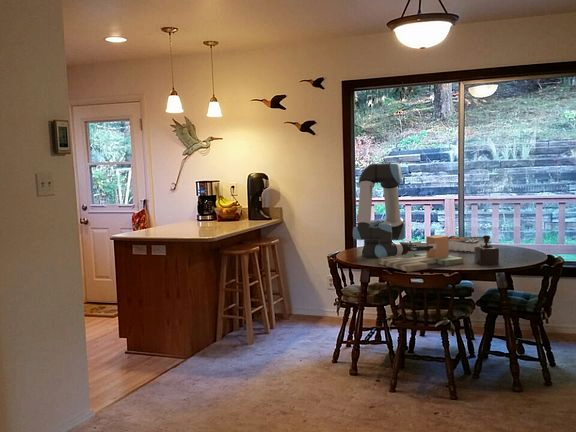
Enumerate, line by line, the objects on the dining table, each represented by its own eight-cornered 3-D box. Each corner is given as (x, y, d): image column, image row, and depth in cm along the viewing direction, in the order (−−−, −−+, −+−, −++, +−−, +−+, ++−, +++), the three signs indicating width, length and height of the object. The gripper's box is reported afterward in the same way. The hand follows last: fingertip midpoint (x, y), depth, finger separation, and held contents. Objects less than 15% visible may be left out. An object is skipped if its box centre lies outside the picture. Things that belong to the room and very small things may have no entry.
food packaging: (440, 239, 370) (454, 234, 387) (440, 250, 371) (454, 245, 388) (477, 241, 354) (490, 237, 371) (477, 253, 355) (490, 248, 372)
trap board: (378, 264, 333) (378, 259, 333) (431, 256, 350) (431, 251, 350) (408, 271, 308) (408, 266, 307) (463, 263, 325) (463, 258, 325)
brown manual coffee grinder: (472, 262, 326) (472, 232, 324) (490, 261, 327) (490, 231, 325) (484, 267, 311) (484, 235, 309) (503, 266, 312) (503, 234, 310)
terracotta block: (426, 256, 336) (426, 236, 334) (439, 254, 340) (439, 234, 339) (435, 258, 328) (435, 237, 327) (448, 256, 333) (448, 236, 332)
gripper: (386, 252, 332) (414, 248, 342) (413, 258, 310) (442, 253, 320) (386, 239, 332) (414, 236, 341) (413, 244, 309) (442, 240, 319)
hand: (428, 244), depth 330 cm, fingers open, 13 cm apart
